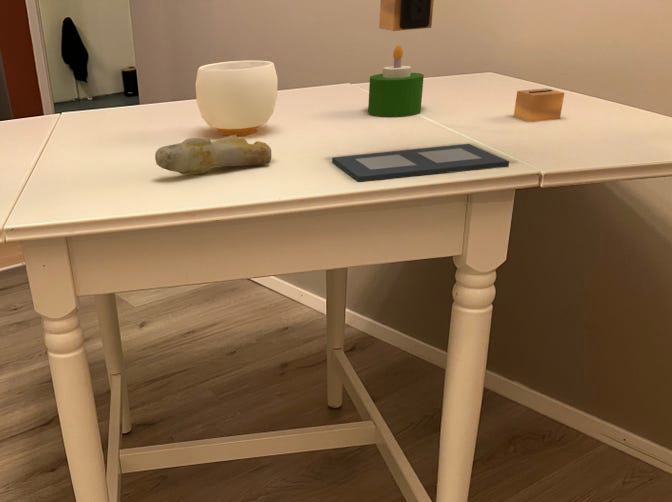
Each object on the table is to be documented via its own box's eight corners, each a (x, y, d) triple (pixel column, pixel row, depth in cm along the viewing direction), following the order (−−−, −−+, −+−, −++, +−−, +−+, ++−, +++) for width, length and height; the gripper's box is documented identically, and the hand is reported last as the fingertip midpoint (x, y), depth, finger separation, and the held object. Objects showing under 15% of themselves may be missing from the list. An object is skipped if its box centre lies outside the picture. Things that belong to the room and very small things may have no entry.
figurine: (250, 138, 94) (144, 138, 88) (270, 126, 89) (159, 125, 83) (254, 177, 94) (149, 180, 88) (275, 167, 89) (165, 169, 83)
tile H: (415, 25, 83) (418, -14, 81) (431, 27, 79) (435, -14, 77) (378, 28, 83) (380, -11, 81) (392, 31, 79) (395, -11, 77)
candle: (357, 114, 116) (360, 47, 111) (387, 105, 120) (391, 41, 115) (401, 118, 110) (406, 49, 105) (430, 109, 115) (436, 42, 110)
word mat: (468, 148, 91) (468, 143, 90) (508, 166, 82) (509, 160, 82) (331, 162, 89) (332, 156, 89) (358, 181, 80) (358, 175, 80)
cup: (200, 143, 104) (196, 73, 99) (197, 127, 115) (193, 63, 110) (283, 137, 104) (283, 66, 99) (272, 121, 115) (271, 57, 110)
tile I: (541, 116, 104) (546, 87, 102) (559, 122, 100) (565, 91, 98) (512, 119, 104) (517, 89, 102) (529, 125, 100) (534, 94, 98)
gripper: (494, -189, 65) (470, 28, 74) (420, -158, 80) (408, 20, 89) (416, -184, 65) (401, 34, 74) (356, -154, 80) (350, 25, 88)
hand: (405, 24), depth 81 cm, fingers closed on tile H, 4 cm apart
